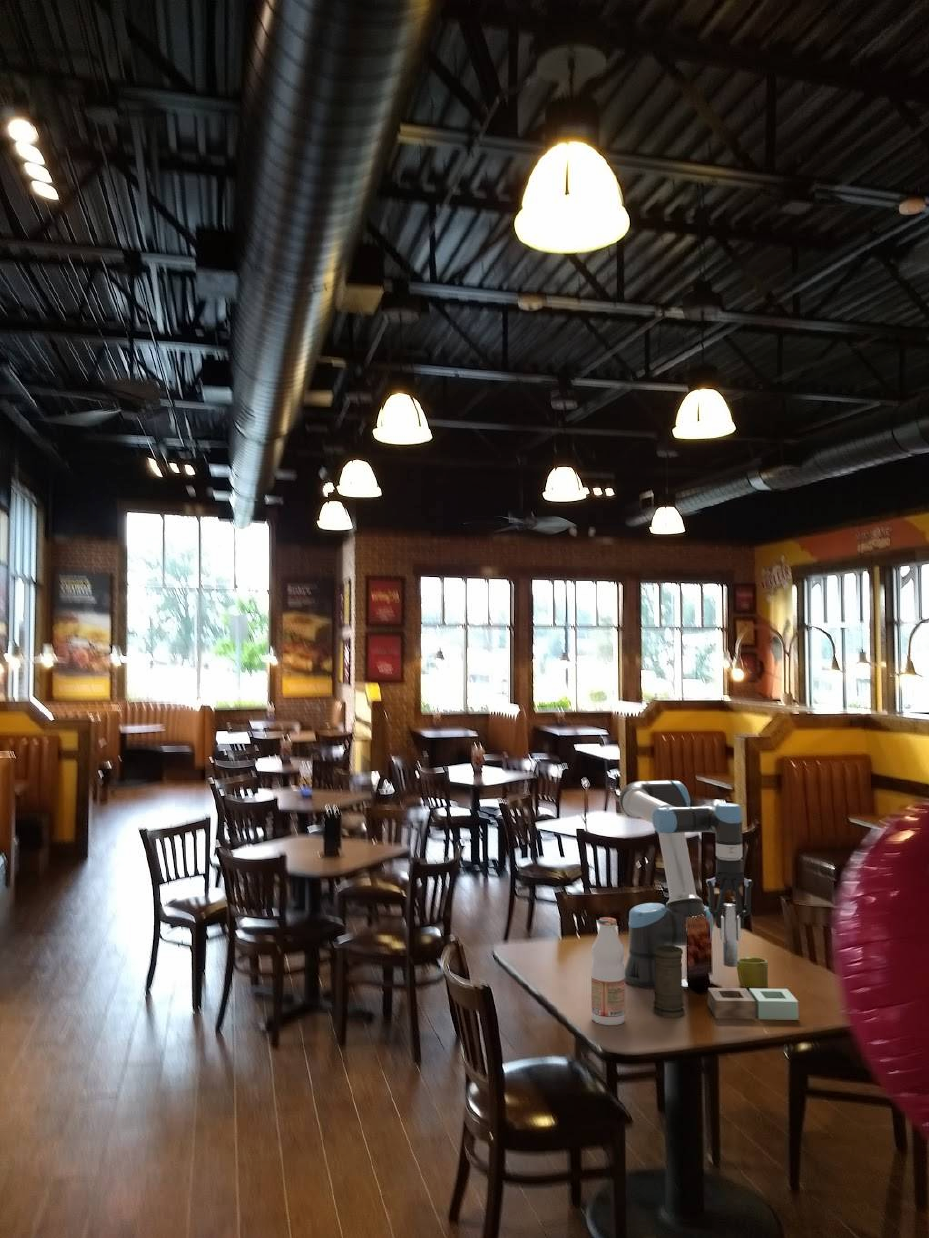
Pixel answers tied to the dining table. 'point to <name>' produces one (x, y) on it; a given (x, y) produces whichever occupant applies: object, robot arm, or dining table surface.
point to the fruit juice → (608, 975)
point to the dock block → (775, 1004)
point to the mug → (753, 972)
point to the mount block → (731, 1003)
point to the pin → (730, 935)
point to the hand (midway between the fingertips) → (730, 939)
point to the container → (668, 981)
